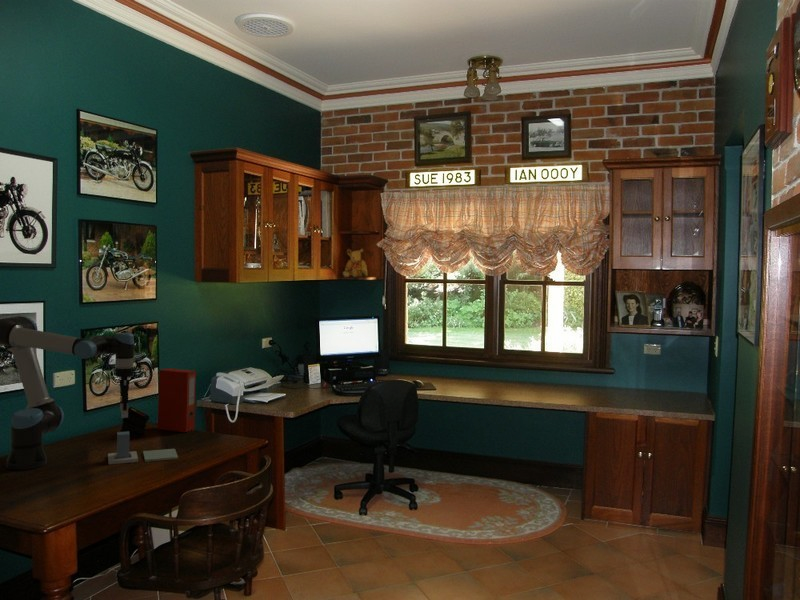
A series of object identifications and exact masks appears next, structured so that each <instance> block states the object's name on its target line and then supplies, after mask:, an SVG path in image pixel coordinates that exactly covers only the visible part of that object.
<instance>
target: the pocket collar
mask: <svg viewBox="0 0 800 600" xmlns="http://www.w3.org/2000/svg"><path fill="white" fill-rule="evenodd" d="M107 461H108V462H107V464H108V465H119V464H127V463H129V464H130V463H138V462H139V457H138V453H137V451H129V458H120V459H117V452H112V453H107Z"/></svg>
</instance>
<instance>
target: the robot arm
mask: <svg viewBox="0 0 800 600" xmlns="http://www.w3.org/2000/svg"><path fill="white" fill-rule="evenodd" d="M0 345H1V346H6V349H7V351H9V352H11V353H12V355H13V358H14V361H15V365H16V367H17V368H16V369H17V371H18V375H19V378H20V382H21V384H22V387H23V391H24V393H25V397H26V400H27V403H28V404H27V406H26V407H25V409H20V410H18V411H16V412H14V413H13V414H12V416H11V421H10V429H11V430H10V433H11V434H10V435H11V436H10V441H11V443H10V445H11V446H10V451H9V454H8V456H7V458H6V460H5V461H6V462H5V464H6V465H5V467H6V469H8V470H12V471H28V470H34V469H38V468H41V467H43V466H45V465H47V463H48V462H47V461H48V459H47V455H46V452H45V450H44V445H43V436H44V435H46V434H49V433H51V432H53V431H55V430H56V429H57V430H58V428H59V427H60V426H61V425H62V424H63V421H64V418H65V413H64V411H63V409H62V407H60V406H59V405H57V404H56V401H55V399H54V398H51V397H50V394H49V392H48V388H47V385H46V383H45V382H46V381H45V379H44V376H43V375H44V374H43V372H42V369H41V366H40V363H39V359H38V356H37V352H36V349H38V350H43V351H44V350H45V351H50V352H56V353H62V354H67V355H68V354H69V355H73V356H76V357H77V358H79V359H90V358H92V357H97V356H100V355H104V354H107V355H115V359H114V360H115V361H114V362H115V363H114V365H115V371H114V372H115V374H114V375H115V377H117V378H120V379H119V388H120V392H119V394H120V402H119V405H120V407H119V411H120V412H121V413H120V414H121V417H120V418H121V419H123V418H128V408H129V389H130V379H128V378H130V377H133V376H134V373H135V372H134V366H135V365H134V364H135V362H136V359H135V358H134V357H135V356H134V354H135V351H134V349H135V339H134V333H131V332H117V333H116V334H115V336H113V337H112V336H100V335H99V336H90V337H89V338H88V339H87V338H81V337H77V336H71V335H65V334H59V333H54V332H48V331H43V330H38V325H37V324H36V321H34V320H33V319H31V318H30V317H28V316H23V315H22V316H21V315H20V316H19V315H16V316H10V317H4V318H0Z"/></svg>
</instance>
